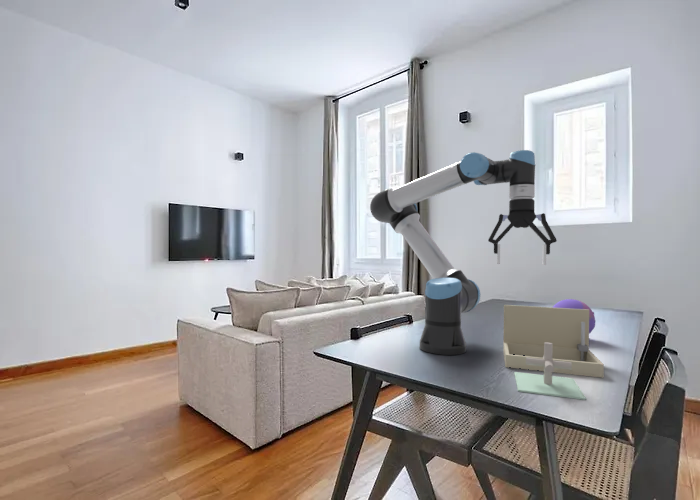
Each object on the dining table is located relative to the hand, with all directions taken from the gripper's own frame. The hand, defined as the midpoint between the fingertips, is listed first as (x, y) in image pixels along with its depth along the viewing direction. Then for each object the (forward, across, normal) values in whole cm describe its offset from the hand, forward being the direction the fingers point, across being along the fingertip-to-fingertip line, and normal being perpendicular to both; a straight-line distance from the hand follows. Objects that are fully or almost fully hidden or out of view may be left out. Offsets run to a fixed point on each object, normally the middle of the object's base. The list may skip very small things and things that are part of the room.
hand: (520, 264), depth 125 cm
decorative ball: (+29, +20, +28) cm, 45 cm away
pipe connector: (+28, +5, -30) cm, 42 cm away
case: (+29, +7, -11) cm, 31 cm away
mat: (+29, +4, -31) cm, 42 cm away
